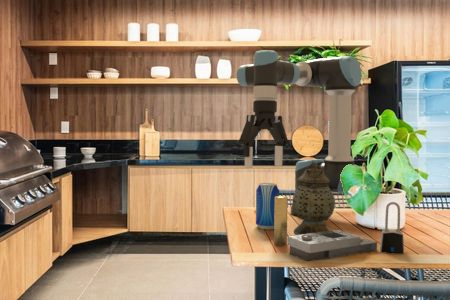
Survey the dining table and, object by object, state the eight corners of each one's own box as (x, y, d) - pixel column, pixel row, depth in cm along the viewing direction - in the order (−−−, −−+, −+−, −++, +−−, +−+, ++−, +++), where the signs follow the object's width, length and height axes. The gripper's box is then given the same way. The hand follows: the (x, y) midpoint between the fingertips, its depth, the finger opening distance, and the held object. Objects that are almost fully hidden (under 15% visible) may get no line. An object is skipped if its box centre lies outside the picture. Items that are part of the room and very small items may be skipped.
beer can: (277, 230, 163) (278, 185, 162) (254, 229, 165) (254, 185, 164) (279, 225, 171) (280, 183, 171) (257, 224, 173) (257, 182, 172)
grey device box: (352, 242, 147) (353, 224, 147) (376, 250, 138) (377, 231, 138) (287, 253, 134) (287, 233, 134) (309, 262, 126) (309, 241, 125)
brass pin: (281, 242, 147) (282, 195, 146) (289, 245, 143) (290, 197, 142) (271, 243, 145) (272, 196, 144) (279, 246, 141) (279, 198, 141)
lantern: (340, 232, 160) (342, 161, 159) (321, 240, 149) (322, 164, 148) (305, 226, 169) (307, 159, 168) (284, 233, 159) (285, 161, 157)
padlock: (402, 250, 138) (404, 201, 137) (404, 254, 134) (406, 203, 133) (379, 248, 140) (380, 200, 139) (380, 252, 136) (381, 202, 135)
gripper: (282, 102, 156) (281, 164, 157) (227, 98, 140) (226, 167, 141) (299, 101, 151) (298, 165, 152) (244, 97, 134) (243, 169, 135)
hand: (263, 166), depth 146 cm, fingers open, 13 cm apart
